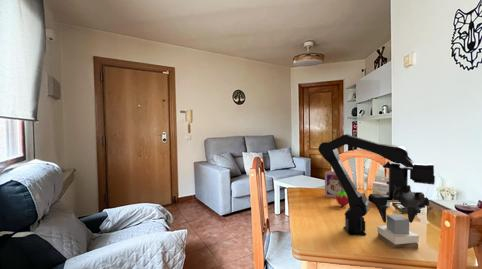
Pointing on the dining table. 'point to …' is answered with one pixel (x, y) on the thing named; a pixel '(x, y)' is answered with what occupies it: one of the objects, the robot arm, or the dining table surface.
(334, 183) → the pink snowman box
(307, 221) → the dining table surface
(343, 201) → the strawberry
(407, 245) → the tower bottom
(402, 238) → the tower top
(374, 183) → the ink cartridge box
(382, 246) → the dining table surface
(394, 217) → the slate cube
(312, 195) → the dining table surface
